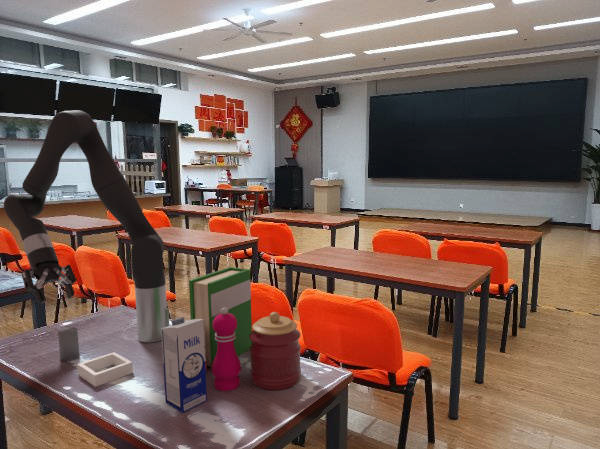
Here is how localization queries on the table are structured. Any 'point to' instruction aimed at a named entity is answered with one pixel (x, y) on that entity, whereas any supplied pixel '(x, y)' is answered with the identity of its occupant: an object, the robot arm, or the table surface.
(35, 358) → the table surface
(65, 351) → the peg
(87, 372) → the socket
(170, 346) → the milk carton
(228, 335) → the pepper mill
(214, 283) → the hardback book
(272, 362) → the canister
